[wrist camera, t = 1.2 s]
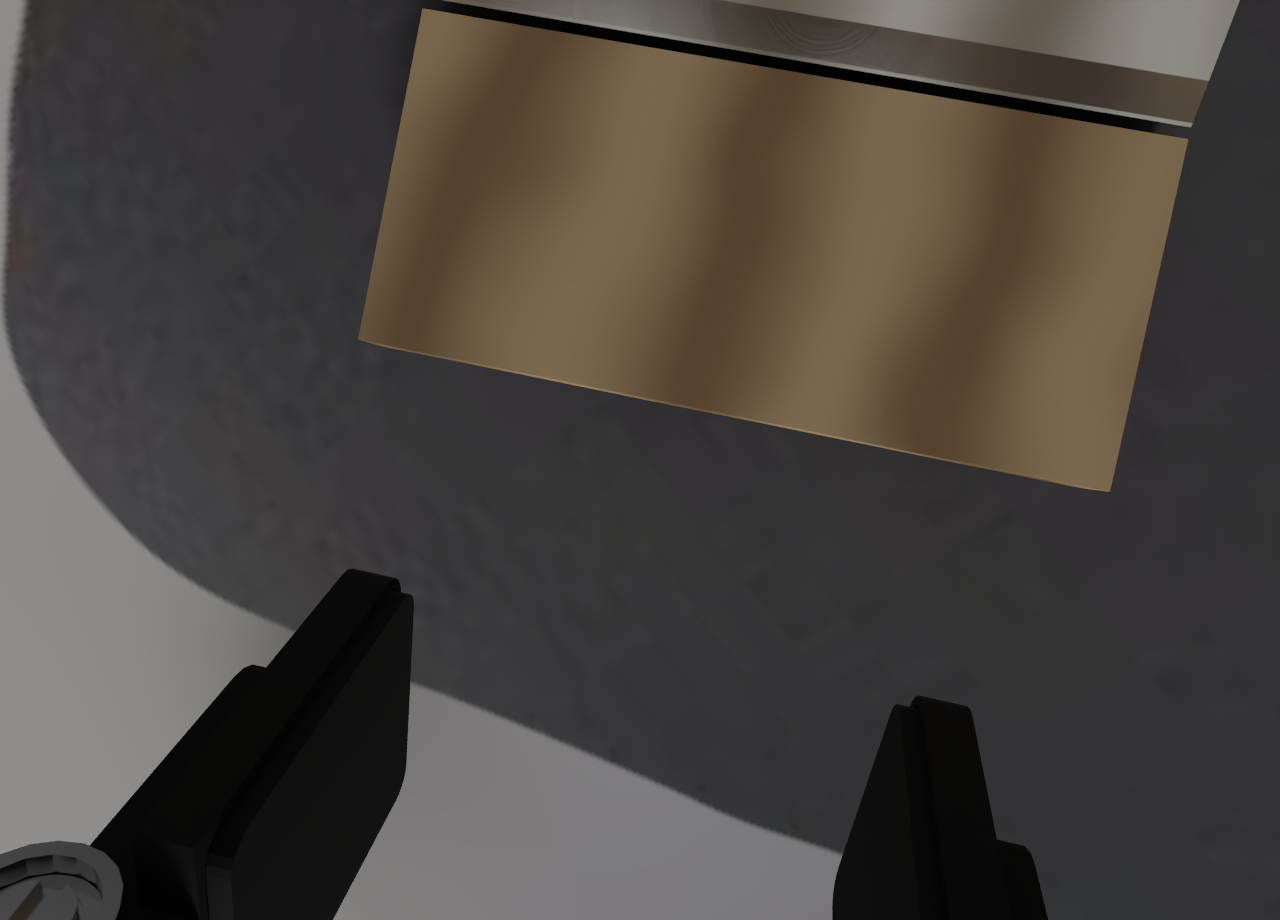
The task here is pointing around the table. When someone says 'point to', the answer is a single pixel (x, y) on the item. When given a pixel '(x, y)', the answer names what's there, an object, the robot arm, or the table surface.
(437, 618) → the table surface
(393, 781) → the robot arm
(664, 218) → the oak plank
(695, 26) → the laid plank
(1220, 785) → the table surface
